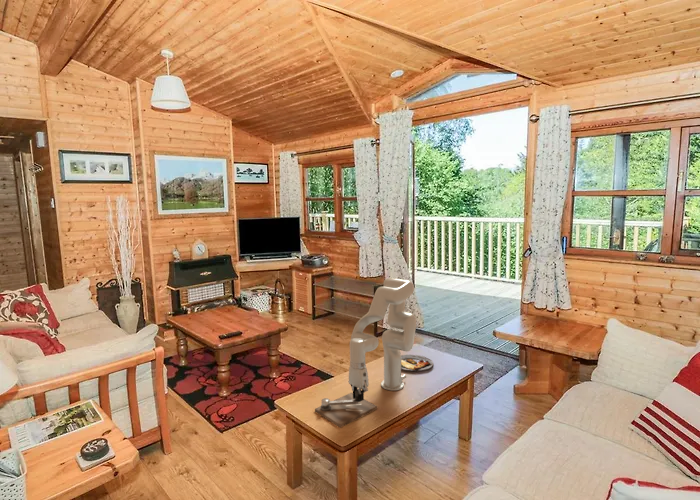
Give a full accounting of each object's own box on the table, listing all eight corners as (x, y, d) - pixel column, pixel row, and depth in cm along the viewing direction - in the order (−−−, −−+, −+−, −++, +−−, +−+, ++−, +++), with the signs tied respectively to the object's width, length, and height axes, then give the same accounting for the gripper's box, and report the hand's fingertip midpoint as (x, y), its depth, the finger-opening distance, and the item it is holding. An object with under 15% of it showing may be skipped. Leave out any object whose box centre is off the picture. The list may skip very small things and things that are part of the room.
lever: (360, 401, 202) (360, 388, 201) (361, 406, 198) (361, 392, 197) (321, 404, 200) (321, 390, 199) (321, 408, 196) (321, 394, 195)
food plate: (441, 367, 247) (441, 362, 246) (410, 377, 235) (410, 371, 235) (415, 355, 268) (415, 350, 268) (386, 363, 257) (386, 357, 257)
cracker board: (351, 395, 214) (351, 390, 214) (377, 408, 200) (377, 404, 200) (315, 411, 198) (314, 406, 198) (340, 427, 184) (340, 422, 184)
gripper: (375, 366, 193) (375, 402, 196) (352, 356, 205) (352, 390, 208) (363, 371, 188) (364, 408, 191) (341, 361, 200) (341, 395, 203)
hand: (358, 398), depth 199 cm, fingers closed on lever, 3 cm apart
